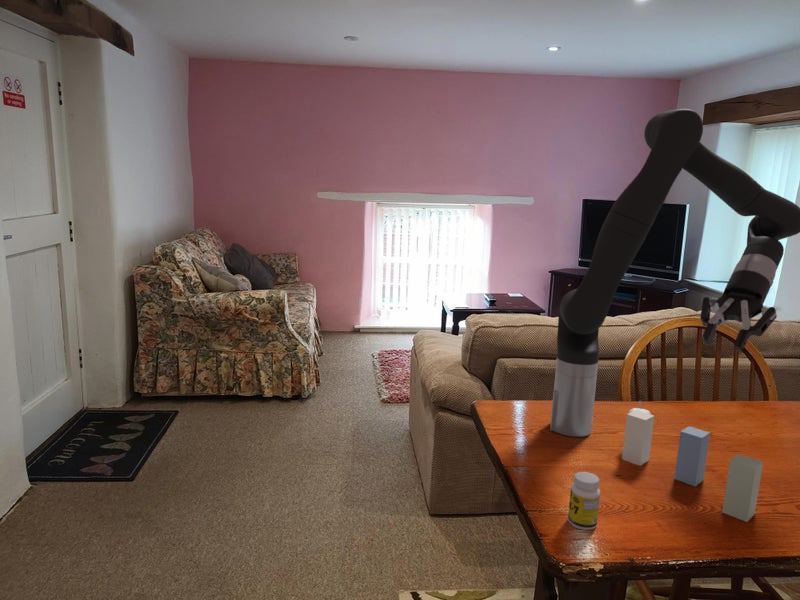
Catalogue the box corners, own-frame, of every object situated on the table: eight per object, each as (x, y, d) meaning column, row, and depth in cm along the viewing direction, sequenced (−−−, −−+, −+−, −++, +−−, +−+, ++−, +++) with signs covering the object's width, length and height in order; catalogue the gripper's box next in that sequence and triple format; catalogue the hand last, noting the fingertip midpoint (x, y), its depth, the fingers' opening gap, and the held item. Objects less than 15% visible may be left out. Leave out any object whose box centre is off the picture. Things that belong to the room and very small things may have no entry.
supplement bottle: (563, 515, 102) (567, 470, 101) (590, 515, 103) (594, 470, 101) (573, 531, 97) (578, 484, 96) (601, 530, 98) (606, 483, 96)
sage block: (722, 512, 105) (730, 459, 103) (730, 504, 108) (738, 453, 106) (746, 522, 102) (755, 468, 100) (754, 514, 105) (763, 461, 103)
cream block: (621, 459, 125) (626, 414, 123) (630, 453, 127) (635, 409, 126) (640, 465, 122) (645, 420, 120) (649, 460, 125) (654, 415, 123)
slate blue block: (674, 478, 117) (680, 431, 115) (682, 472, 120) (689, 426, 118) (695, 486, 114) (702, 437, 112) (703, 480, 117) (710, 432, 115)
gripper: (711, 264, 126) (681, 326, 120) (788, 273, 116) (759, 341, 110) (717, 287, 131) (688, 348, 125) (792, 297, 120) (764, 364, 115)
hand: (721, 344), depth 118 cm, fingers open, 5 cm apart
